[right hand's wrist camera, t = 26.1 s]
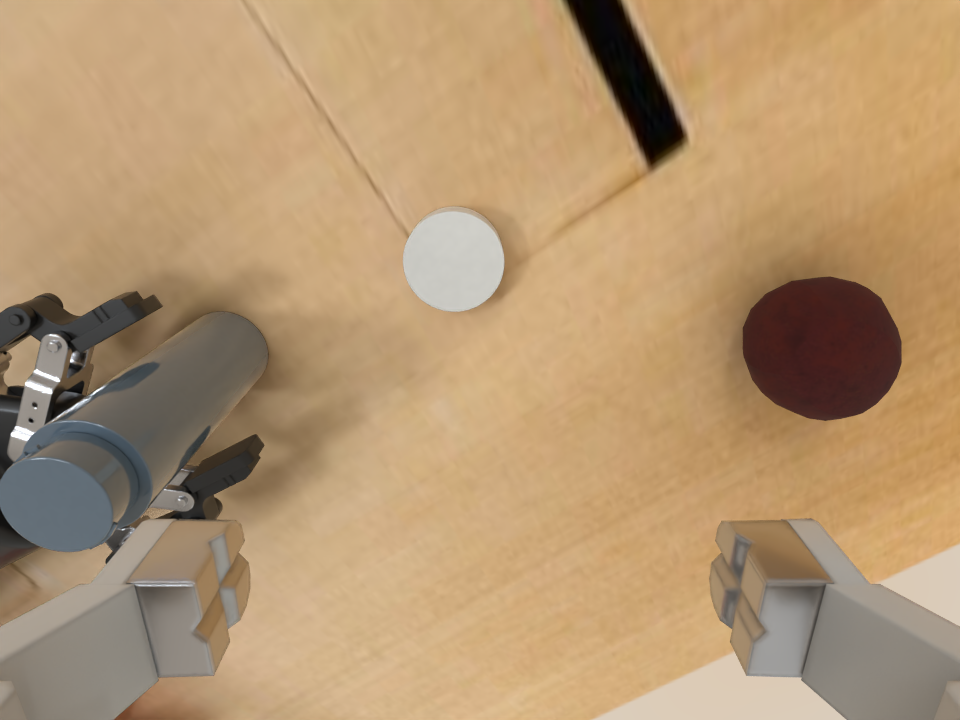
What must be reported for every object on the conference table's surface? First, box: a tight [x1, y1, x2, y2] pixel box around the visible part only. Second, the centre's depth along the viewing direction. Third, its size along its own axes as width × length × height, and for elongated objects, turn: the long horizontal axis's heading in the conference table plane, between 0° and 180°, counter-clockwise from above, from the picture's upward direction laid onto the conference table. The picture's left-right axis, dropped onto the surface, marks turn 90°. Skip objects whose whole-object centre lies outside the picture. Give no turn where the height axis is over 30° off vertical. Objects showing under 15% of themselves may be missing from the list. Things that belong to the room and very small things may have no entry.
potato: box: [743, 277, 901, 421], centre depth 33 cm, size 7×8×7 cm
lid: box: [403, 206, 504, 312], centre depth 34 cm, size 5×5×2 cm
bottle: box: [0, 312, 268, 552], centre depth 29 cm, size 5×5×16 cm
